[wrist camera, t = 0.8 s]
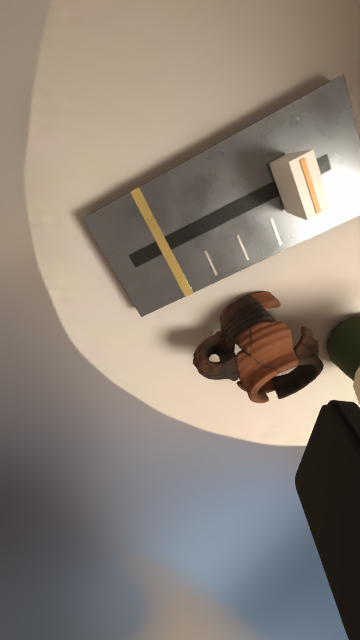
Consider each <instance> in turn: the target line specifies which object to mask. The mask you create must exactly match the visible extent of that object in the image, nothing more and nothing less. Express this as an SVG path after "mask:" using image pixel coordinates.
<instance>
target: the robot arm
mask: <svg viewBox="0 0 360 640" xmlns="http://www.w3.org/2000/svg"><path fill="white" fill-rule="evenodd" d="M295 485H296V490H297V493H298V495H299V498H300V501H301V504H302V507H303V510H304V513H305V515H306V518H307V521H308V524H309V527H310V530H311V533H312V536H313V539H314V541H315V544H316V547H317V550H318V553H319V556H320V558H321V561H322V565H323V567H324V570H325V573H326V576H327V579H328V582H329V585H330V588H331V590H332V593H333V596H334V599H335V602H336V605H337V608H338V610H339V613H340V616H341V619H342V622H343V625H344V628H345V631H346V633H347V636H348V638H349V640H360V408H359V406H358V405H357V404H356V403H354V402H347V401H338V400H331V401H330V402H329V403H328V404H327V405H323V406H322V408H321V410H320V412H319V415H318V418H317V420H316V423H315V425H314V428H313V431H312V433H311V436H310V439H309V441H308V444H307V446H306V449H305V452H304V454H303V457H302V460H301V463H300V465H299V468H298V470H297V473H296V477H295Z"/></svg>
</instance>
